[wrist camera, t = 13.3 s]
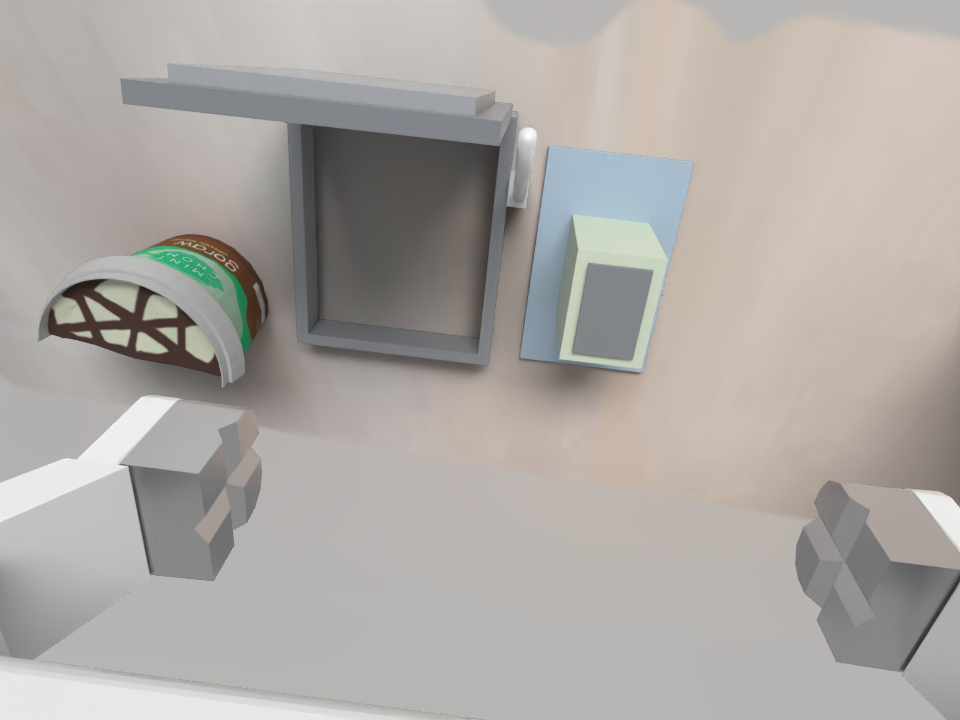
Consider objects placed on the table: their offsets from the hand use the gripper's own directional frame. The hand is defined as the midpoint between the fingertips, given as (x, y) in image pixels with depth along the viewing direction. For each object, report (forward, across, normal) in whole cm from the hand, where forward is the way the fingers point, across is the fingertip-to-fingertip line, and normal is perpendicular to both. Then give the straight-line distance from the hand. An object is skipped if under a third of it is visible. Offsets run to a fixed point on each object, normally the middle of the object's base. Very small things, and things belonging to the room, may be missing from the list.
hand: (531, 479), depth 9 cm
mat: (+35, -6, +9) cm, 37 cm away
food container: (+35, +22, +12) cm, 43 cm away
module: (+35, -6, +9) cm, 36 cm away
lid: (+24, +8, -1) cm, 25 cm away
